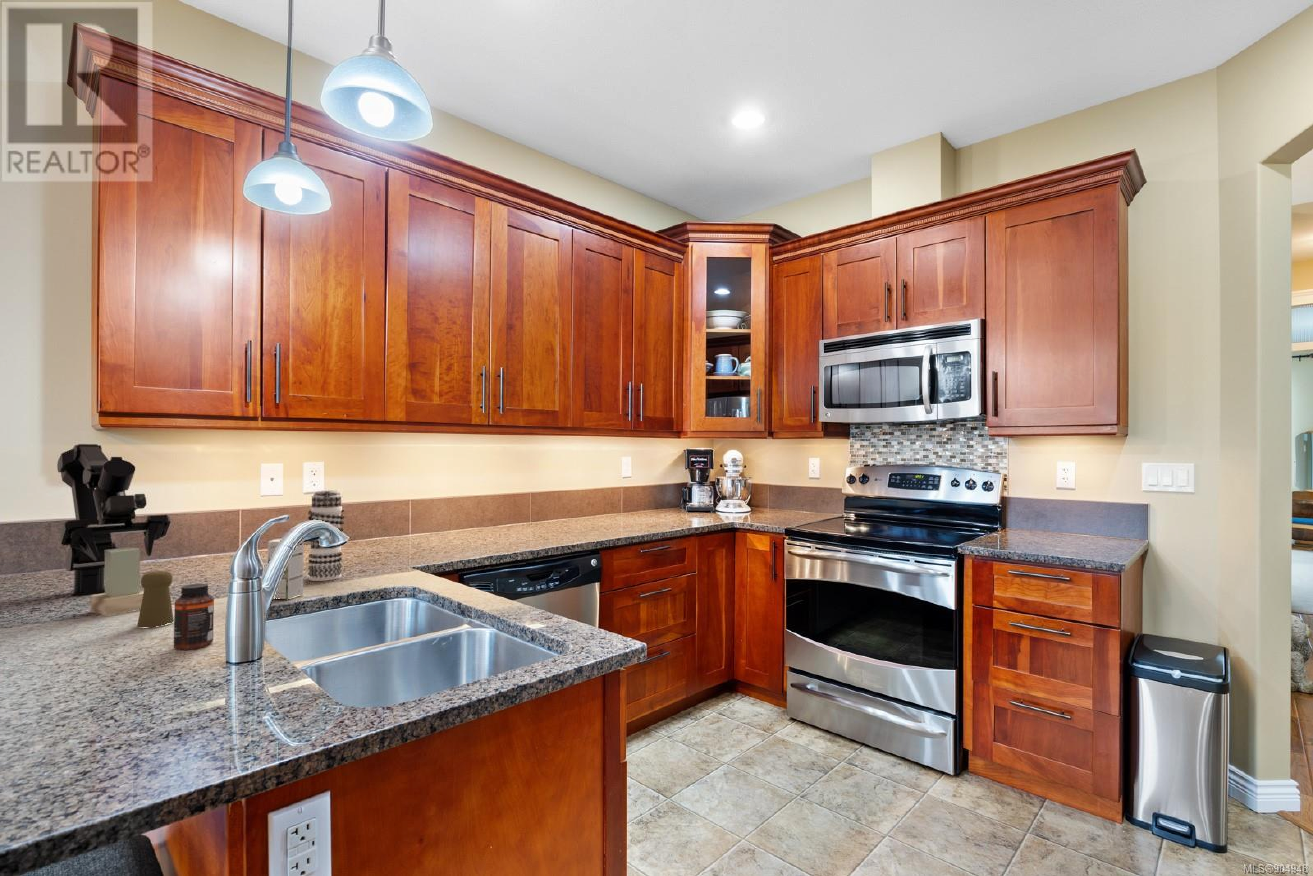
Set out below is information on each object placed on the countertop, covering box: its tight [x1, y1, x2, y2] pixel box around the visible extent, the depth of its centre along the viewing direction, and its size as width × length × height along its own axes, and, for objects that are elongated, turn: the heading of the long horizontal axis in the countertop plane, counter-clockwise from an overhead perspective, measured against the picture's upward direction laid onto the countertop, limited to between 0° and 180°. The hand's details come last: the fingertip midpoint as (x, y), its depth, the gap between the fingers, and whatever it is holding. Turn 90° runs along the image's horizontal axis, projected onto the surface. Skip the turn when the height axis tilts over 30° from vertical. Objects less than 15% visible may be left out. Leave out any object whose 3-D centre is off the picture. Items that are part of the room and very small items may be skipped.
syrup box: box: [267, 537, 304, 601], centre depth 153 cm, size 6×6×14 cm
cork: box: [136, 570, 174, 628], centre depth 129 cm, size 6×6×11 cm
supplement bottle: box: [173, 583, 215, 651], centre depth 115 cm, size 6×6×11 cm
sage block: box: [104, 546, 141, 597], centre depth 140 cm, size 5×5×10 cm
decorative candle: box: [307, 490, 345, 582], centre depth 177 cm, size 9×9×25 cm
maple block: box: [90, 589, 144, 617], centre depth 140 cm, size 8×8×4 cm
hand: (124, 557), depth 139 cm, fingers open, 9 cm apart
